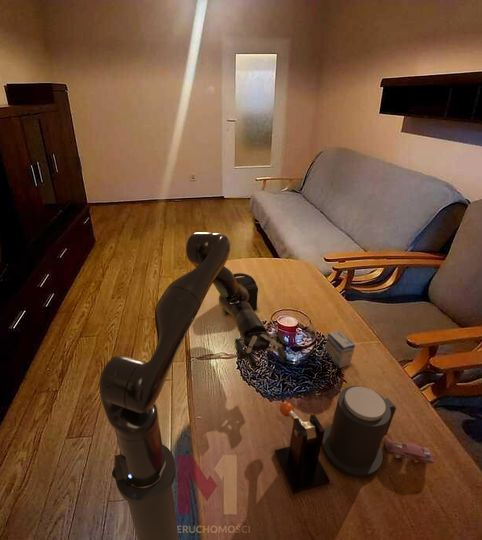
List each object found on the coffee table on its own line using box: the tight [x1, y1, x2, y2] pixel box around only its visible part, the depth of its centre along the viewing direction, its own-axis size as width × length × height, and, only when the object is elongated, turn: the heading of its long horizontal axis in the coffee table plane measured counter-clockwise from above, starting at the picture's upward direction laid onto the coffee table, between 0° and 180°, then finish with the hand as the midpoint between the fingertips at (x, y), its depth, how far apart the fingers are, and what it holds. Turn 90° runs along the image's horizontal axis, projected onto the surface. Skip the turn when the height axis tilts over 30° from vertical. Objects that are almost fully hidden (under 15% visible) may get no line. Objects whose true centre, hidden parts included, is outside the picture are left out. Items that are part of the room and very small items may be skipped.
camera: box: [223, 272, 259, 315], centre depth 137 cm, size 11×14×15 cm
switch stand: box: [274, 413, 331, 495], centre depth 79 cm, size 10×9×16 cm
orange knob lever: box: [279, 401, 316, 440], centre depth 82 cm, size 14×3×3 cm, turn 13°
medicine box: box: [324, 329, 356, 369], centre depth 112 cm, size 8×4×9 cm, turn 21°
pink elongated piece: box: [384, 437, 435, 464], centre depth 83 cm, size 10×5×7 cm, turn 73°
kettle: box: [321, 385, 397, 479], centre depth 82 cm, size 15×14×18 cm
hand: (270, 362), depth 94 cm, fingers open, 8 cm apart
